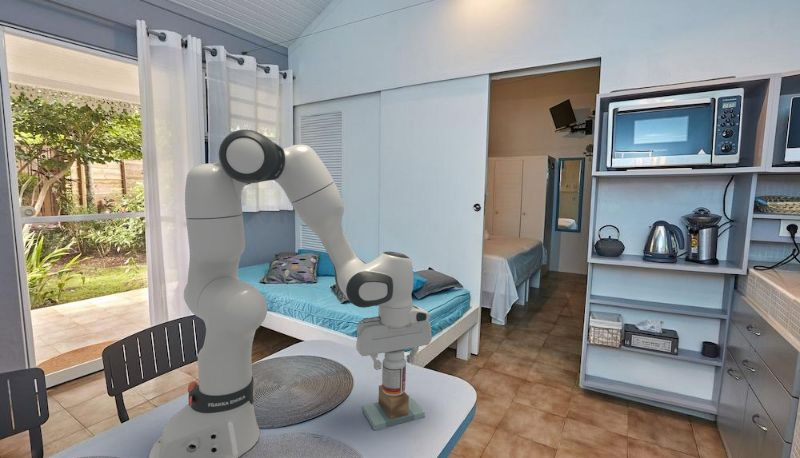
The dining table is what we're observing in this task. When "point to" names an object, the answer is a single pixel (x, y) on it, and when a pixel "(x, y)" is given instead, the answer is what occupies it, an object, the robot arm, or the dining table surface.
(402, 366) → the pill bottle
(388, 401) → the walnut block
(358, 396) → the dining table surface
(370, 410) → the plate
